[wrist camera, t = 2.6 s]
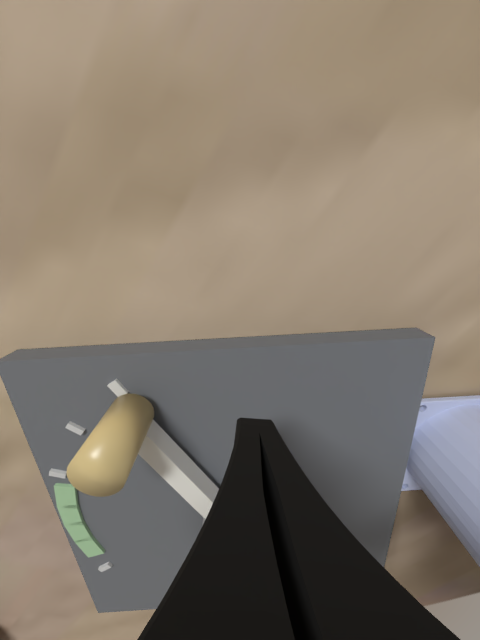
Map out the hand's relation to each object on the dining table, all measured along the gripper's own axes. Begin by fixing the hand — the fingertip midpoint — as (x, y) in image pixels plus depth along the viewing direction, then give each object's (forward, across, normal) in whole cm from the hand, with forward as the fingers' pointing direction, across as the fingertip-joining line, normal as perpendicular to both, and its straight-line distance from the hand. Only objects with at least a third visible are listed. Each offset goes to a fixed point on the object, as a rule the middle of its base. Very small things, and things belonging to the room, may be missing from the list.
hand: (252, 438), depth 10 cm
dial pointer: (+4, +3, +7) cm, 9 cm away
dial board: (+6, 0, +10) cm, 12 cm away
